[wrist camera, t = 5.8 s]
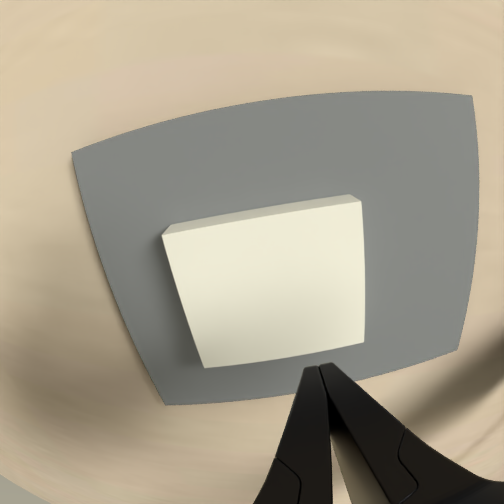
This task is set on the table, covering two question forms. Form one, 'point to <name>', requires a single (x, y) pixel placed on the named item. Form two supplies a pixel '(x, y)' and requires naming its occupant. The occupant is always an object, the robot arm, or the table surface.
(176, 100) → the table surface
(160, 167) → the mat
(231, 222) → the tile
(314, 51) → the table surface
